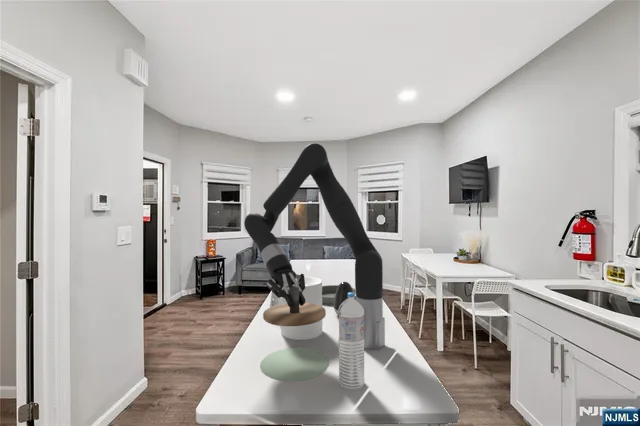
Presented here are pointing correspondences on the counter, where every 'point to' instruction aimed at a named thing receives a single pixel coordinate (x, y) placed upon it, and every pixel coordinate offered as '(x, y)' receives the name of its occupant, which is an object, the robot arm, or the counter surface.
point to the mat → (294, 364)
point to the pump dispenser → (341, 295)
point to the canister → (312, 296)
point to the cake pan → (330, 293)
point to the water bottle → (351, 344)
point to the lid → (294, 312)
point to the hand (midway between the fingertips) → (298, 305)
